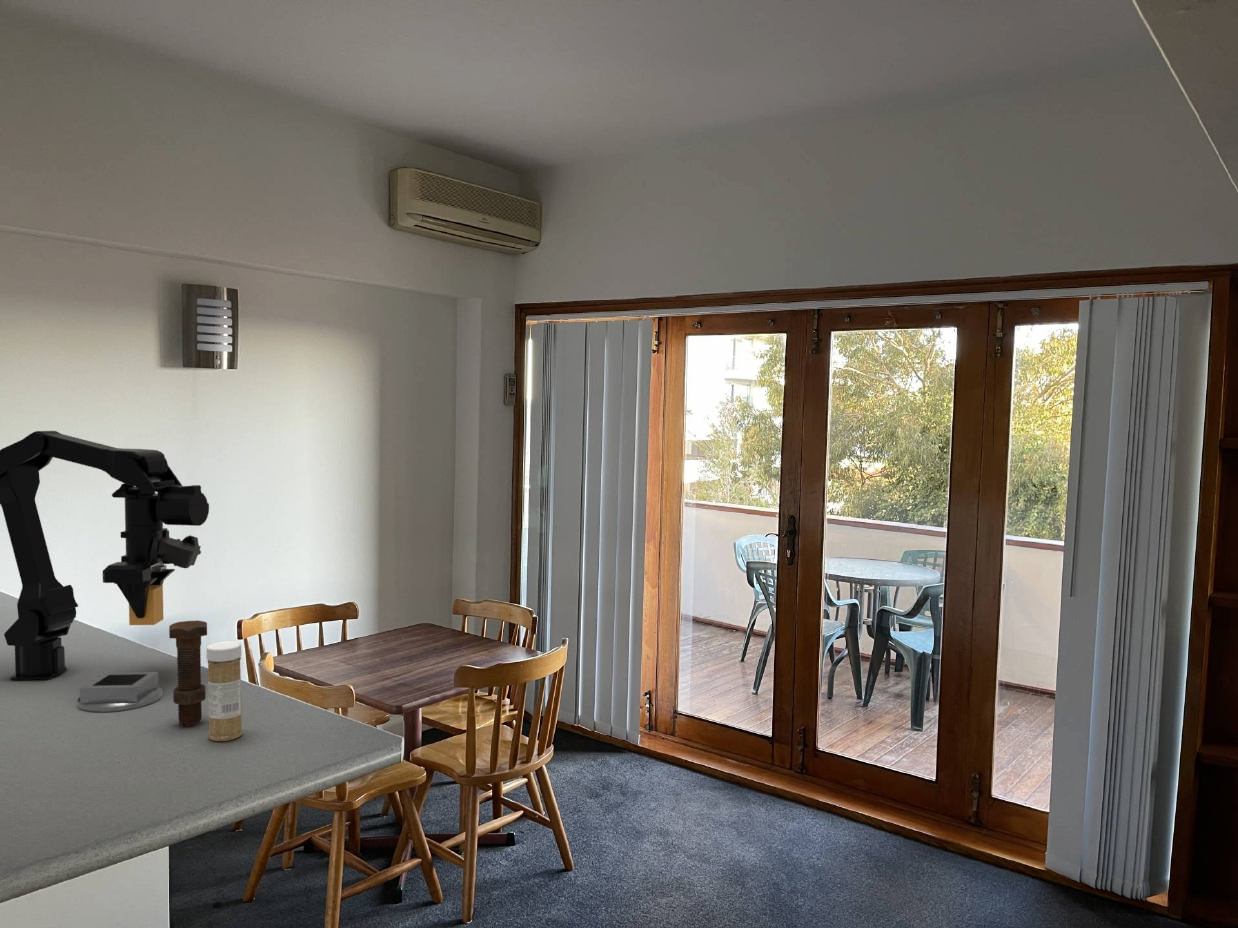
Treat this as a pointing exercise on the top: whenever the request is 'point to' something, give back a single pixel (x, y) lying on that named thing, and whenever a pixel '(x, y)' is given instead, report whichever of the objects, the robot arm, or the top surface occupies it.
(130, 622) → the orange rectangular block
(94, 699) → the rosette collar
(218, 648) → the spice jar
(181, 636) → the bolt
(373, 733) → the top surface
